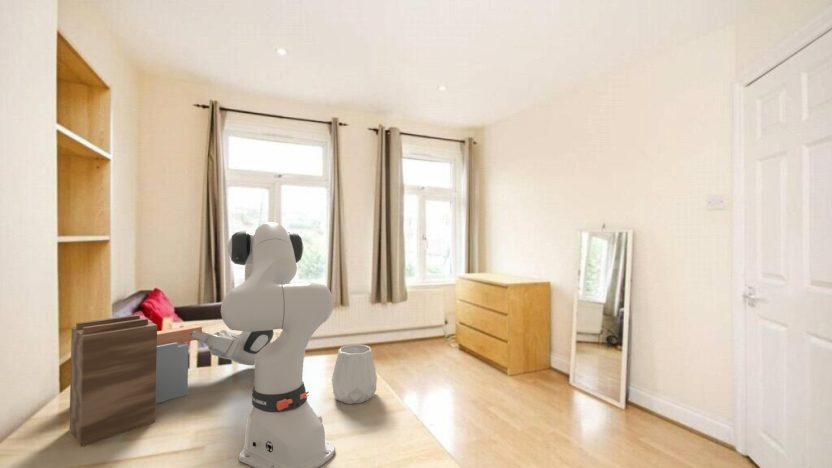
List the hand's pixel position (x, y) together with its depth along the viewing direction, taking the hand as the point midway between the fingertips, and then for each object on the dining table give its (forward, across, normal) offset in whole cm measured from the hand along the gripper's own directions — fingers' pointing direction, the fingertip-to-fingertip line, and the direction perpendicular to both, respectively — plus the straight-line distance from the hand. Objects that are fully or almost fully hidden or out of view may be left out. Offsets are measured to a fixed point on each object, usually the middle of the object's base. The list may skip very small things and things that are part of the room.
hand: (185, 330), depth 121 cm
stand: (+9, +12, +27) cm, 31 cm away
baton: (+4, 0, +6) cm, 8 cm away
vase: (-36, +47, +1) cm, 59 cm away
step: (-3, 0, +20) cm, 20 cm away
